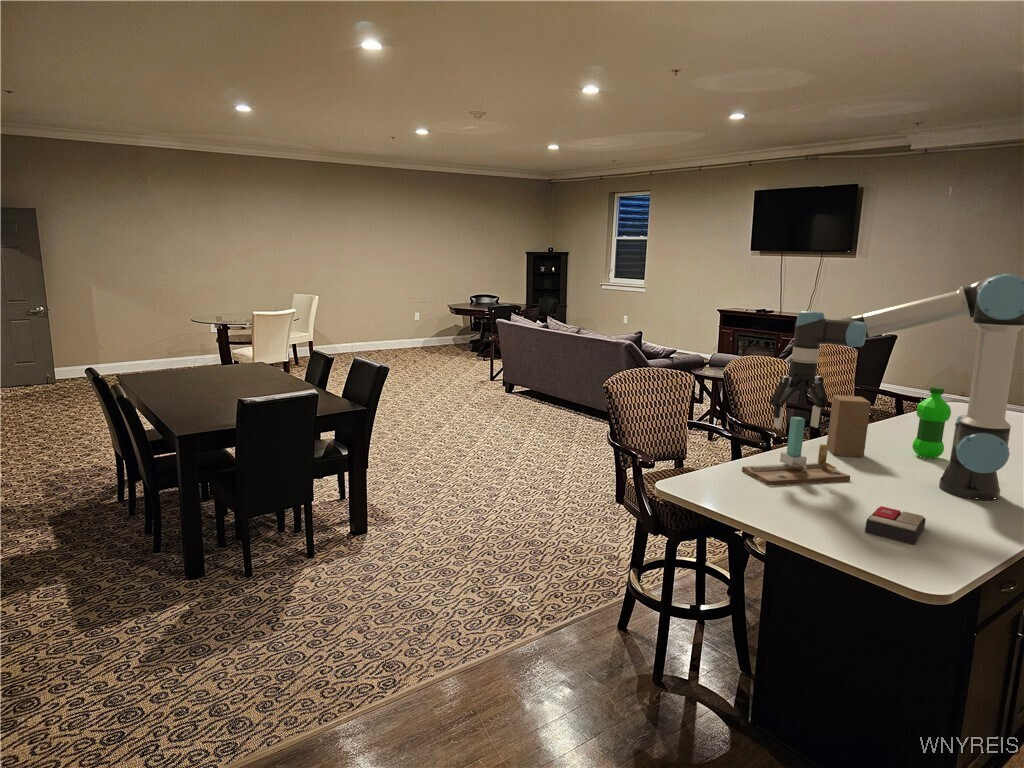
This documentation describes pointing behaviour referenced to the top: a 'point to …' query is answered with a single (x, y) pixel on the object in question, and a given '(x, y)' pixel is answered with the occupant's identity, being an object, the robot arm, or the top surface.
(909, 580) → the top surface
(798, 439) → the sliding lever
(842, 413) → the wooden block
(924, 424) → the plastic bottle
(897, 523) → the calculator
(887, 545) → the top surface
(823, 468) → the hole plate
